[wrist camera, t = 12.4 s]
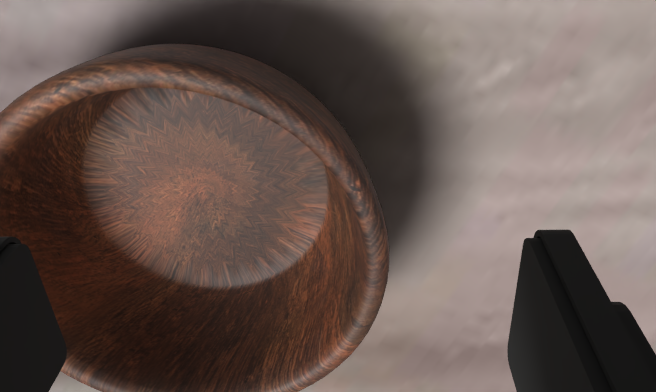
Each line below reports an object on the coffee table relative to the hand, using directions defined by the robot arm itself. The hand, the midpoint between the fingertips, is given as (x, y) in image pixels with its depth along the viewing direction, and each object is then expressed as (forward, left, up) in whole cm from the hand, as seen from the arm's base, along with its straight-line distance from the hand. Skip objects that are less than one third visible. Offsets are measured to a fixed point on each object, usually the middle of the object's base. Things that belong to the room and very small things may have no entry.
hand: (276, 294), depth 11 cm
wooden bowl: (+9, +13, -29) cm, 33 cm away
